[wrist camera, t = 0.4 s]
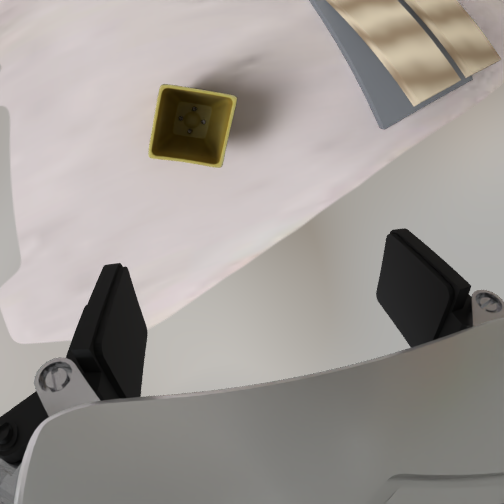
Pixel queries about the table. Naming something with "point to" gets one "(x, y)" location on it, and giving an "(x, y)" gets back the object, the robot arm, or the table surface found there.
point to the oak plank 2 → (456, 34)
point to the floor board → (378, 67)
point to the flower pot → (191, 125)
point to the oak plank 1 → (400, 46)
